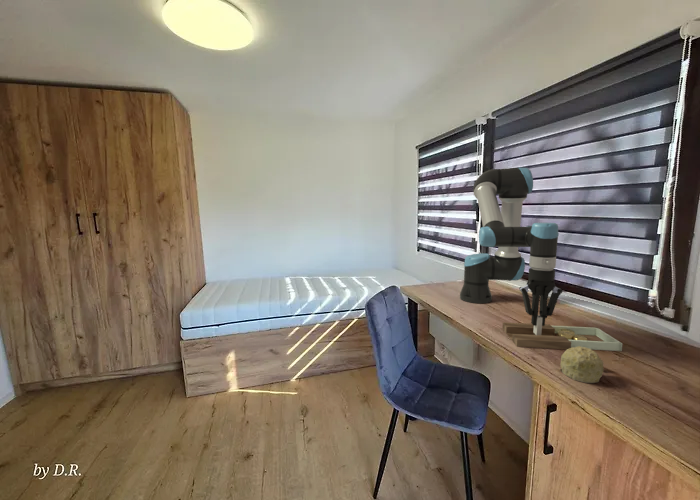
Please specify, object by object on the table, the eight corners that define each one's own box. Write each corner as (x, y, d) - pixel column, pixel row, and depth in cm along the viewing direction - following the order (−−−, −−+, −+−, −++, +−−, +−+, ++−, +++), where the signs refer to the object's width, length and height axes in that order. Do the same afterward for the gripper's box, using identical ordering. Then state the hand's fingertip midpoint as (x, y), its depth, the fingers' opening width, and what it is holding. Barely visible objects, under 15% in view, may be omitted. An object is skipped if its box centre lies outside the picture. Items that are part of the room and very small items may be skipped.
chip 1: (557, 336, 106) (558, 330, 105) (564, 334, 107) (565, 328, 107) (569, 341, 102) (570, 334, 102) (576, 339, 104) (577, 332, 103)
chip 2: (554, 337, 104) (555, 330, 104) (566, 337, 104) (567, 331, 104) (562, 342, 100) (563, 335, 100) (574, 342, 100) (575, 335, 100)
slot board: (502, 331, 113) (502, 322, 112) (548, 333, 110) (549, 324, 109) (516, 349, 98) (517, 339, 98) (570, 352, 95) (571, 342, 95)
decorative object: (571, 393, 80) (598, 375, 74) (545, 359, 88) (568, 340, 82) (594, 389, 83) (622, 371, 77) (567, 356, 91) (590, 338, 85)
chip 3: (573, 340, 103) (573, 333, 102) (587, 344, 100) (588, 336, 100) (570, 343, 100) (571, 336, 100) (585, 347, 97) (585, 340, 97)
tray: (550, 334, 109) (550, 325, 108) (596, 337, 106) (597, 327, 106) (568, 350, 97) (569, 340, 96) (621, 353, 94) (622, 343, 93)
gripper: (525, 270, 98) (521, 337, 101) (569, 271, 96) (563, 339, 99) (517, 265, 105) (513, 328, 109) (557, 266, 103) (552, 330, 106)
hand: (537, 333), depth 104 cm, fingers closed
